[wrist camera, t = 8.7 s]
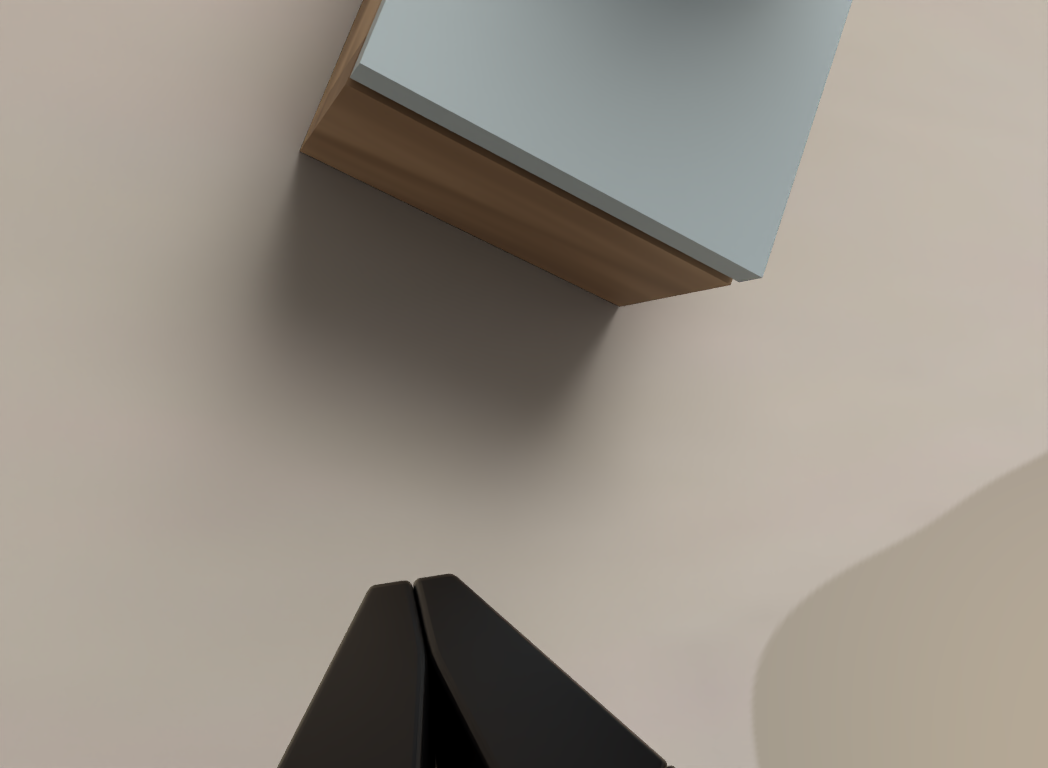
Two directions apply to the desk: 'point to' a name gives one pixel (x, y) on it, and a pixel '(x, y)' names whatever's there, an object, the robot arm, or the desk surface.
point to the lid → (627, 102)
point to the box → (489, 192)
